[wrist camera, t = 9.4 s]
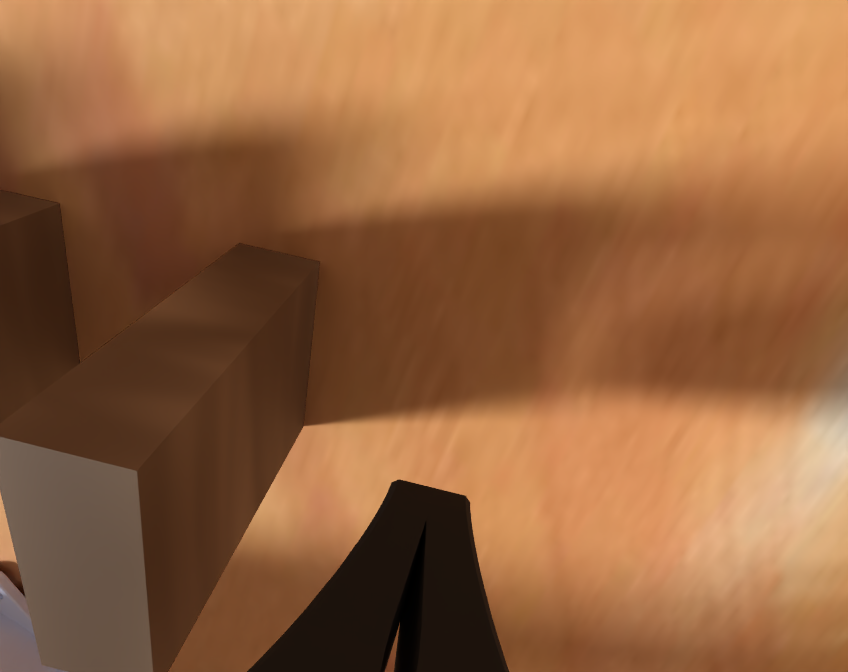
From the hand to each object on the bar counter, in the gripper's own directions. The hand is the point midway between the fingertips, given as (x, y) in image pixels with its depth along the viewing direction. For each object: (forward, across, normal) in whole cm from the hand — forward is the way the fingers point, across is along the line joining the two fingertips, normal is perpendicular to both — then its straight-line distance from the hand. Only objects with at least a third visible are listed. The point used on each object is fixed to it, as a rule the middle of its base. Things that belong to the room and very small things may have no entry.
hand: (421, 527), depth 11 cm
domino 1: (+5, +5, 0) cm, 7 cm away
